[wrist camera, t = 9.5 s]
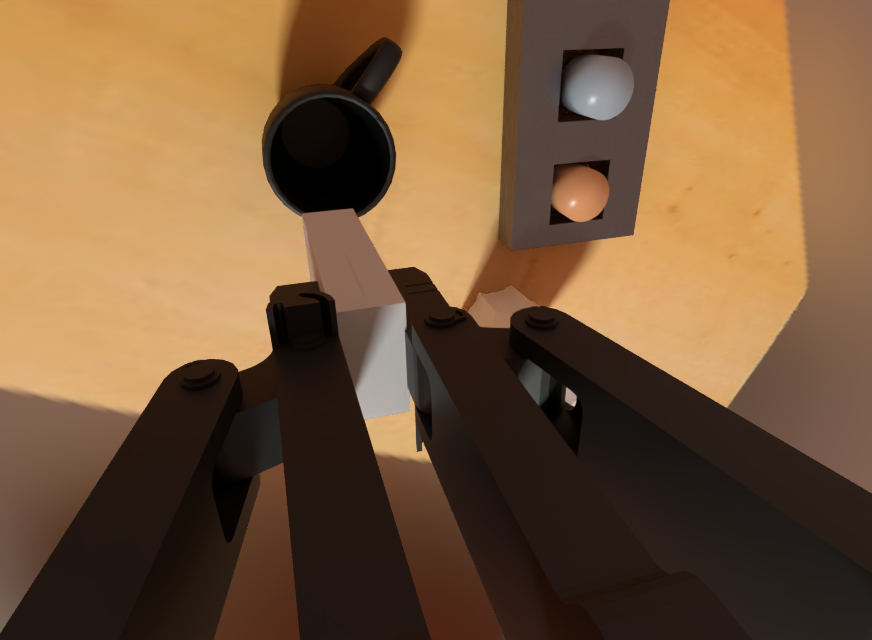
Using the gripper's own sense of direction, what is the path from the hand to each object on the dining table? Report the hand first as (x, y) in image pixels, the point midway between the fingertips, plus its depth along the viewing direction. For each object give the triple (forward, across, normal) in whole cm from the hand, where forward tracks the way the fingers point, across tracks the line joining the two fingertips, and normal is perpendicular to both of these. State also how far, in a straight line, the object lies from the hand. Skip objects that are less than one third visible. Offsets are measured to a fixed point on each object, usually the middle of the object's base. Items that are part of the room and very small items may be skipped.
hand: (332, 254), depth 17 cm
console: (+29, +24, +1) cm, 38 cm away
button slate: (+28, +24, +1) cm, 36 cm away
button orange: (+29, +24, -8) cm, 38 cm away
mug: (+30, +4, 0) cm, 30 cm away
